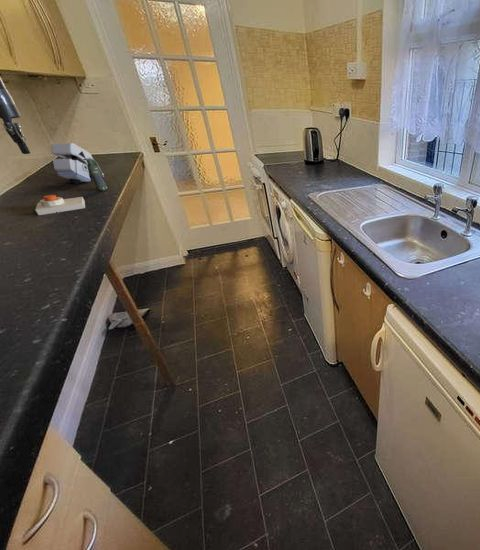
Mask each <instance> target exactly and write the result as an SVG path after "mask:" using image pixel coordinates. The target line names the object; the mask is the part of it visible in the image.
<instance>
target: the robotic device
mask: <svg viewBox="0 0 480 550" xmlns="http://www.w3.org/2000/svg"><path fill="white" fill-rule="evenodd" d="M50 145H51V146H50V149H51V150H50V151H51V154H52V155H54V156H57V157H59V158H53V159H52V163H53V168H54V170H55V171H56V174H57V176H59V177H61V178H63V179H65V180H68V181H69V182H70V183H72V184H74V185H80V183H88V182H92V180H91V178H92V176H91V174H90V173H89V171H88V167H87V165H88V163H87V161H86V160H83V159H85V158H93V156H92V154H91V153H90V152H89V151H88V150H86V149H84V148H82V147H80V146H79V145H77V144H75V143H73V142H54V143H52V144H50ZM102 175H103V177H104V178H105V173H103V172H102Z"/></svg>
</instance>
